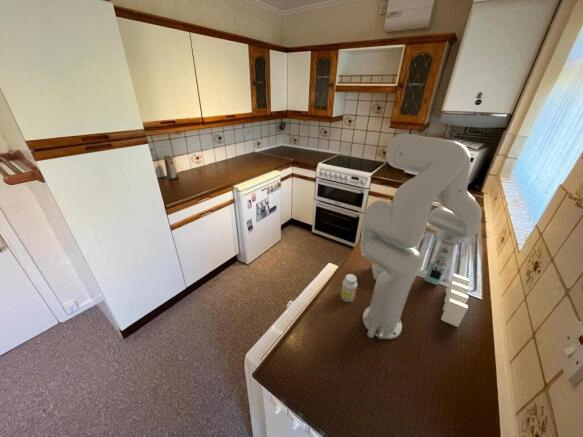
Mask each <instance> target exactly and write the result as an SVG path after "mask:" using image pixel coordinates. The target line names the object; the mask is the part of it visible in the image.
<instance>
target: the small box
mask: <svg viewBox="0 0 583 437" xmlns="http://www.w3.org/2000/svg"><path fill="white" fill-rule="evenodd" d="M371 270H372V276H373V280H377V278H378V276H379V275H380V274H382V273H383V272H385V270H384V269H383V268H381V267H380V266H378V265H377V264H375V263H374V262H372V266H371Z"/></svg>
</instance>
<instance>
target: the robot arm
mask: <svg viewBox="0 0 583 437" xmlns="http://www.w3.org/2000/svg"><path fill="white" fill-rule="evenodd" d="M385 158H386V161H387V163H388V165H389V166H391V167H393V168H395V169H400V170H403V171H407V172H411V173H414V174H417V175H415V176H413V177H412V178H410V179H408V180H407V181H406V182H404V183H402V184H401V185H400V186H399V187H398V188H397V189H396V190H395V191H394V195H393V200H392V202H390V201H388V200H387V201H386V200H381V199H379V200H376V201H373V202H372V203H370V204H369V206H368V207H367V208H366V210H365V212H364V213H363V218H362V223H361V236H360V252H361V255H363V257H364V258H366V259H367V260H368V261H371V262H372V263H373V262H374V263H375V264H377V265H378V266H380V267H381V268H383V269H384V270H385V272H383V273H382V274H380V275H379V276H378V278H377V279H375V285H374V288H373V293H372V297H371V301H370V305H369V306H368V307H366V308H365V309H364V311H363V314H362V322H363V324H364V326H365V329H367V330H368V331H367V334H366V335H367V336H368V338H372V339H373V338H374V337H375V336H376V337H377V338H378V339H384V340H393V339H395V338H397V337H399V336H400V334H401V332H402V331H403V330H402V329H403V323H402V320H401V317H402V314H403V310H404V308H405V305H406V302H407V300H408V296H409V293H410V290H411V288H412V285H413V283H414V282H415V279H416V278H417V276H418V275H419V273H420V271H421V270H422V267H423V266H424V257H423V255H422V253H421V252H420V251H419V250H418V249H416V247H417V246H418V245H420V244H421V242H422V240H423V238H424V235H425V232H426V229H427V224H428V225H429V227H431V228H434V229H436V230H438V232H437V235H436V238H437V239H438V243H437V246H436V250H435V253H434V258H433V262H434V263H435V265H434V268H433V269H432V271H431V274H430V277H431V278H434V279H437V280H439V278H440V276H441V273H442V269H443V266H444V267H445V268H448V267H449V265H450V262H451V259H452V257H453V254H454V251H455V249H456V246H457V245H459V244H461V242H462V240H465V241H469V240H472V238H474V237H475V236H476V235H477V233H478V232H479V229H480V226H481V224H482V223H481V222H482V216H483V211H482V208H481V205H480V204H479V203H478V201H477V200H476V199H475V198H474V196H473V195H472V194H471V193H470V192H469V191H468V187H469V186H468V184H469V179H470V178H469V176H470V169H471V161H472V160H471V159H472V158H471V154H470V152H469V150H468V148H467V146H465V145H464V144H462V143H460V142H458V141H454V140H450V139H445V138H440V137H434V136H432V137H431V136H426V135H424V136H423V135H417V134H410V133H400V134H397V135H396V136H394V137H393V138H391V140H390V141H389V142H388V145H387V147H386V149H385ZM434 201H436V202H437V203H438V204H439V205H441V206H438V207H435V208H434V209H432V207H433V203H434ZM436 265H438V266H437V267H436Z"/></svg>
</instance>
